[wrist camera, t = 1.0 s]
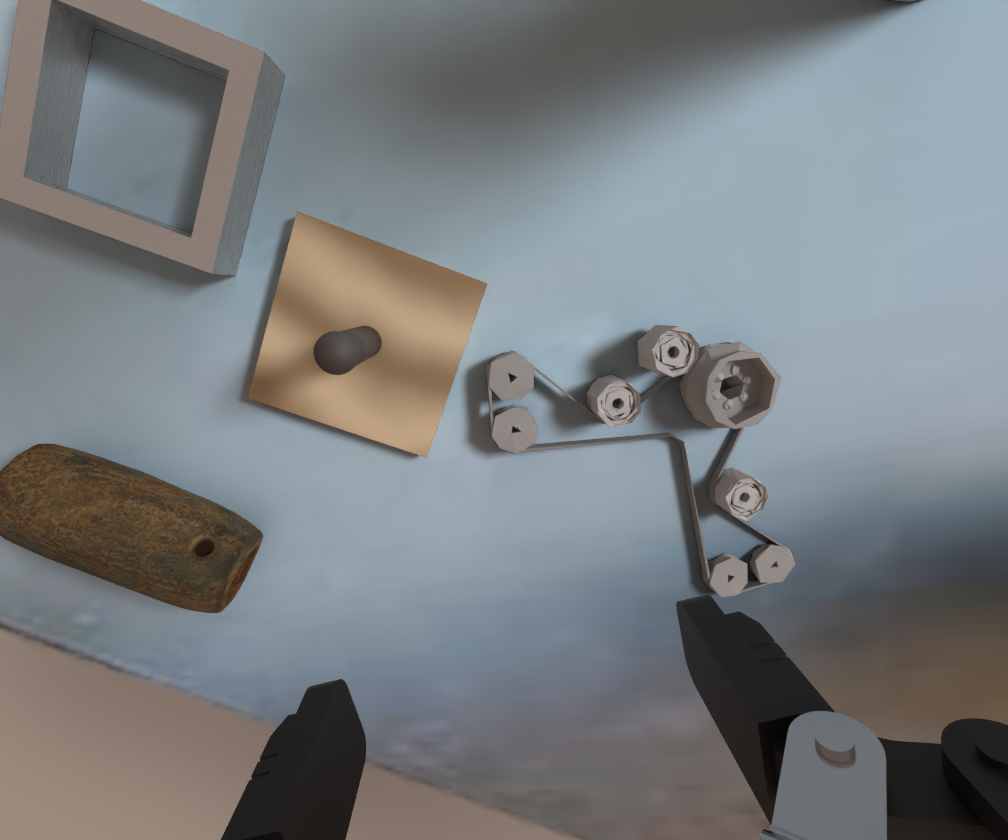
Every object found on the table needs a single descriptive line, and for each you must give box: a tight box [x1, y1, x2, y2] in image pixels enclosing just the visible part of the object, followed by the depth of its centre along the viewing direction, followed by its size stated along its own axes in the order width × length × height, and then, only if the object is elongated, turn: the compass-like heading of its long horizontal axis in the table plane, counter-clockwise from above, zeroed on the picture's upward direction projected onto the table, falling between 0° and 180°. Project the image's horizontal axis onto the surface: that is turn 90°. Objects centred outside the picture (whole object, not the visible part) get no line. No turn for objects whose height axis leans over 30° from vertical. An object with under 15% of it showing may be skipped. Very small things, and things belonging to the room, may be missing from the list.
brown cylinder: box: [0, 444, 263, 613], centre depth 33 cm, size 15×7×7 cm, turn 69°
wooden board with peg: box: [248, 212, 487, 457], centre depth 29 cm, size 12×12×9 cm
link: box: [0, 0, 285, 276], centre depth 29 cm, size 12×12×3 cm
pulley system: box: [486, 325, 795, 597], centre depth 35 cm, size 27×5×15 cm
